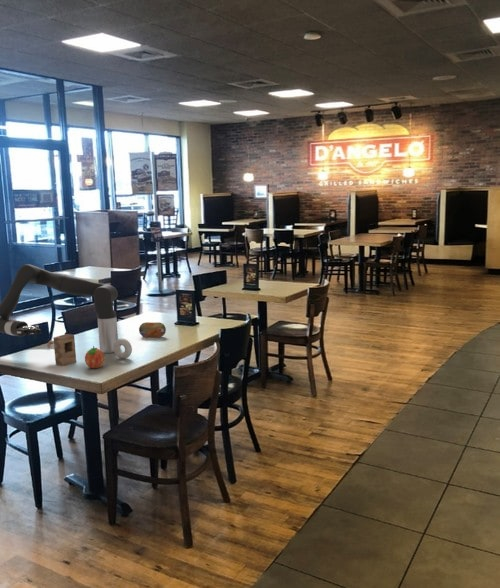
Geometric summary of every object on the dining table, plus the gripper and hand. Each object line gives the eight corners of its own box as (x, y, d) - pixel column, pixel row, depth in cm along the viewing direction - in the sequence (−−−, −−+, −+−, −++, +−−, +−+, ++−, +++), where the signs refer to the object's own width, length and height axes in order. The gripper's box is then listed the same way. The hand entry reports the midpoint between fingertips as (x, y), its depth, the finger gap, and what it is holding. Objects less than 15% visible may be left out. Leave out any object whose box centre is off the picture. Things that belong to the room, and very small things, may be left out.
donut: (112, 358, 279) (111, 338, 278) (116, 357, 282) (115, 336, 281) (129, 360, 275) (128, 339, 274) (134, 358, 278) (132, 338, 277)
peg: (47, 349, 276) (46, 341, 276) (54, 347, 280) (53, 339, 279) (60, 351, 272) (60, 343, 271) (67, 349, 275) (66, 341, 275)
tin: (139, 337, 322) (138, 322, 320) (141, 336, 325) (140, 321, 323) (164, 338, 318) (163, 323, 317) (166, 336, 321) (166, 321, 320)
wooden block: (55, 364, 272) (53, 337, 270) (68, 360, 279) (66, 333, 277) (63, 365, 270) (60, 338, 268) (76, 361, 277) (74, 334, 274)
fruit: (107, 364, 270) (106, 343, 268) (101, 370, 260) (99, 348, 258) (89, 365, 270) (87, 343, 268) (82, 371, 261) (80, 349, 259)
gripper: (4, 323, 282) (28, 326, 274) (26, 318, 294) (50, 321, 285) (5, 338, 284) (29, 342, 275) (28, 332, 295) (51, 336, 286)
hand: (40, 331), depth 280 cm, fingers closed
